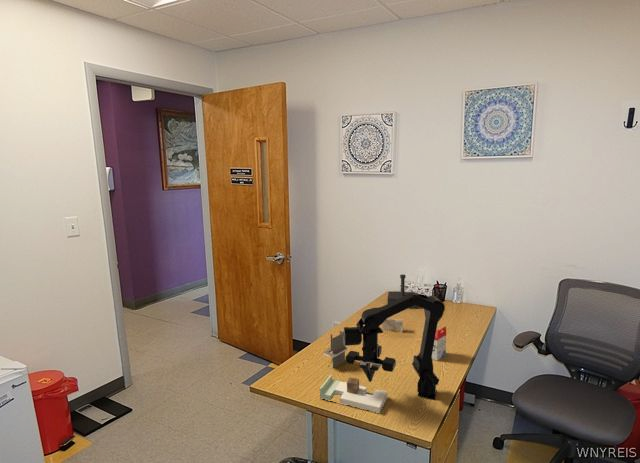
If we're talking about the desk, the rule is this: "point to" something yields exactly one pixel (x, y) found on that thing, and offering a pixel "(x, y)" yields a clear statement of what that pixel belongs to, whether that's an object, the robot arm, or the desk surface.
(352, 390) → the walnut block
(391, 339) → the desk surface
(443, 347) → the ink box
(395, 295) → the dark post stand
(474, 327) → the desk surface
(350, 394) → the board
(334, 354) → the architectural model
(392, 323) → the model
